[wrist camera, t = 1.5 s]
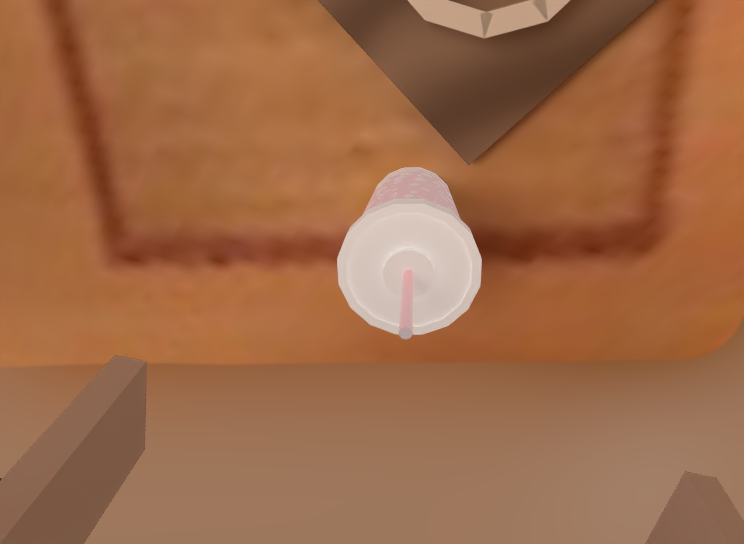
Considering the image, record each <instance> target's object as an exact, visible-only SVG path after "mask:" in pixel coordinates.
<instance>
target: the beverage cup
mask: <svg viewBox="0 0 744 544" xmlns="http://www.w3.org/2000/svg"><path fill="white" fill-rule="evenodd" d="M337 265H338V283H339V286H340V288H341V290H342V292H343V294H344V296H345V298H346V300H347V302H348V304H349V306H350V308H351V309H353V310H354V311H355V312H356V313H357V314H358V315H359V316H361V317H362V318H363V319H364V320H365V321H366V322H368V323H369V324H370V325H372V326H375V327H377V328H380V329H383V330H385V331H388V332H391V333H393V334H399V336H400V337H401V338H403V339H409V338H411V337H412V334H413V335H423V334H426V333H429V332H432V331H435V330H438V329H441V328H444V327H446V326H448V325H450V324H451V323H452V322H453V321H455V320H456V319H457V318H458V317H459V316H461V315H462V314H463V313H464V312H465V311H467V310H468V309H469V307H470V305H471V303H472V301H473V299H474V297H475V295H476V293H477V292H478V290H479V288H480V284H481V266H482V258H481V255H480V253H479V250H478V248H477V245H476V243H475V240H474V238H473V235H472V233H471V230H470V228H469V227H468V226H467V225H466V224H465V223H464V222H463V221H462V220H461V219H460V217H459V214H458V212H457V209H456V206H455V204H454V201H453V199H452V196H451V194H450V191H449V189H448V186H447V184H446V183H445V182H444V181H443V180H442V179H441V178H440V177H439V176H438V175H437V174H436V173H433V172H431V171H428V170H426V169H423V168H421V167H408V168H402V169H399V170H397V171H394V172H392V173H390V174H388V175H387V176H386V177H385V178H384V179H383V180H382V181H381V182H380V183H379V184H378V185H377V187H376V189H375V191H374V193H373V195H372V197H371V199H370V201H369V203H368V205H367V207H366V209H365V211H364V213H363V215H362V216H361V217H360V218H359V219H358V220H357V221H356V222H355V223H354V224H353V225H352V226H351V227H350V228H349V231H348V232H347V235H346V237H345V240H344V242H343V245H342V248H341V250H340V253H339V255H338V258H337Z"/></svg>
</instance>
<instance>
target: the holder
mask: <svg viewBox="0 0 744 544" xmlns="http://www.w3.org/2000/svg"><path fill="white" fill-rule="evenodd" d="M318 1H319V2H320V3H321V4H322V5H323V6H324V7H325V9H326V10H327V11H328V12H329V13H330V14H331V15H332V16H333V17H334V18H335V20H336V21H337V22H338V23H339V24H340V25H341V26H342V27H343V28H344V29H345V30H346V32H347V33H348V34H349V35H350V36H351V37H352V38H353V39H354V40H355V41H356V43H357V44H358V45H359V46H360V47H361V48H362V49H363V50H364V51H365V52H366V53H367V55H368V56H369V57H370V58H371V59H372V60H373V61H374V62H375V63H376V64H377V65H378V67H379V68H380V69H381V70H382V71H383V72H384V73H385V74H386V75H387V76H388V78H389V79H390V80H391V81H392V82H393V83H394V84H395V85H396V86H397V87H398V88H399V90H400V91H401V92H402V93H403V94H404V95H405V96H406V97H407V98H408V99H409V100H410V102H411V103H412V104H413V105H414V106H415V107H416V108H417V109H418V110H419V111H420V113H421V114H422V115H423V116H424V117H425V118H426V119H427V120H428V121H429V122H430V123H431V125H432V126H433V127H434V128H435V129H436V130H437V131H438V132H439V133H440V134H441V136H442V137H443V138H444V139H445V140H446V141H447V142H448V143H449V144H450V145H451V146H452V148H453V149H454V150H455V151H456V152H457V153H458V154H459V155H460V156H461V157H462V158H463V160H464V161H465V162H466V163H467V164H468V165H470V164H471V163H472V162H473V161H474V160H475V159H476V158H478V157H479V156H480V155H481V154H482V153H483V152H484V151H486V150H487V149H488V148H489V147H490V146H491V145H492V144H493V143H495V142H496V141H497V140H498V139H499V138H500V137H501V136H503V135H504V134H505V133H506V132H507V131H508V130H509V129H510V128H512V127H513V126H514V125H515V124H516V123H517V122H518V121H520V120H521V119H522V118H523V117H524V116H525V115H526V114H527V113H529V112H530V111H531V110H532V109H533V108H534V107H535V106H537V105H538V104H539V103H540V102H541V101H542V100H543V99H544V98H546V97H547V96H548V95H549V94H550V93H551V92H552V91H554V90H555V89H556V88H557V87H558V86H559V85H560V84H561V83H563V82H564V81H565V80H566V79H567V78H568V77H569V76H571V75H572V74H573V73H574V72H575V71H576V70H577V69H578V68H580V67H581V66H582V65H583V64H584V63H585V62H586V61H588V60H589V59H590V58H591V57H592V56H593V55H594V54H595V53H597V52H598V51H599V50H600V49H601V48H602V47H603V46H605V45H606V44H607V43H608V42H609V41H610V40H611V39H612V38H614V37H615V36H616V35H617V34H618V33H619V32H620V31H622V30H623V29H624V28H625V27H626V26H627V25H628V24H629V23H631V22H632V21H633V20H634V19H635V18H636V17H637V16H639V15H640V14H641V13H642V12H643V11H644V10H645V9H646V8H648V7H649V6H650V5H651V4H652V3H653V2H654V1H656V0H570V1H569V2H568V3H567V4H566V5H565V6H564V7H563V8H562V9H561V10H560V11H558V12H557V13H556V14H555V15H554V16H553V17H552V18H551V19H550V20H549V21H548V22H544V23H540V24H537V25H533V26H529V27H525V28H522V29H518V30H514V31H510V32H507V33H503V34H499V35H495V36H492V37H488V38H485V39H484V38H481V37H478V36H475V35H471V34H468V33H465V32H462V31H458V30H455V29H452V28H449V27H445V26H442V25H439V24H436V23H432V22H429V21H426V20H424V19H423V18H422V16H421V15H420V14H419V13H418V12H417V11H416V9H415V8H414V7H413V6H412V5H411V4H410V3H409V1H408V0H318ZM449 1H452V2H456V3H459V4H462V5H465V6H469V7H472V8H475V9H478V10H482V11H487V10H491V9H495V8H498V7H502V6H506V5H509V4H513V3H516V2H520V1H524V0H449Z"/></svg>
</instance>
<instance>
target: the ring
mask: <svg viewBox="0 0 744 544" xmlns="http://www.w3.org/2000/svg"><path fill="white" fill-rule="evenodd" d="M408 1H409V3H410V4H411V5H412V6H413V7H414V8H415V9H416V11H417V12H418V13H419V14H420V15H421V16H422V18H423V19H424V20H426V21H429V22H432V23H436V24H439V25H442V26H445V27H449V28H452V29H455V30H458V31H462V32H465V33H468V34H471V35H475V36H478V37H481V38H484V39H485V38H488V37H492V36H495V35H499V34H503V33H507V32H510V31H514V30H518V29H522V28H525V27H529V26H533V25H537V24H540V23H544V22H548V21H549V20H550V19H551V18H552V17H553V16H554V15H555V14H556V13H557V12H558V11H560V10H561V9H562V8H563V7H564V6H565V5H566V4H567V3H568V2H569V1H570V0H524V1H520V2H516V3H513V4H509V5H506V6H502V7H498V8H495V9H491V10H487V11H482V10H478V9H475V8H472V7H469V6H465V5H462V4H459V3H456V2H452V1H449V0H408Z"/></svg>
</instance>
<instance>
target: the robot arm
mask: <svg viewBox="0 0 744 544" xmlns="http://www.w3.org/2000/svg"><path fill="white" fill-rule="evenodd" d="M146 367H147V361H143V360H138V359H133V358H128V357H123V356H118V355H115V356H114V357H113V358H112V359H111V360H110V361H109V362H108V363H107V364H106V366H105V367H104V368H103V369H102V370H101V371H100V372H99V373H98V374H97V375H96V377H95V378H94V379H93V380H92V381H91V382H90V383H89V384H88V385H87V386H86V387H85V389H84V390H83V391H82V392H81V393H80V394H79V395H78V396H77V397H76V398H75V399H74V401H73V402H72V403H71V404H70V405H69V406H68V407H67V408H66V409H65V410H64V412H63V413H62V414H61V415H60V416H59V417H58V418H57V419H56V420H55V421H54V422H53V424H52V425H51V426H50V427H49V428H48V429H47V430H46V431H45V432H44V433H43V435H42V436H41V437H40V438H39V439H38V440H37V441H36V442H35V443H34V444H33V446H32V447H31V448H30V449H29V450H28V451H27V452H26V453H25V454H24V455H23V456H22V458H21V459H20V460H19V461H18V462H17V463H16V464H15V465H14V466H13V467H12V468H11V470H10V471H9V472H8V473H7V474H6V475H5V476H4V477H3V478H2V479H1V478H0V544H84V543H85V541H86V539H87V538H88V536H89V535H90V533H91V532H92V530H93V529H94V527H95V526H96V524H97V522H98V521H99V519H100V518H101V516H102V514H103V513H104V511H105V510H106V508H107V507H108V505H109V504H110V502H111V501H112V499H113V498H114V496H115V494H116V493H117V491H118V490H119V488H120V487H121V485H122V484H123V482H124V481H125V479H126V478H127V476H128V474H129V473H130V471H131V470H132V468H133V467H134V465H135V464H136V462H137V460H138V459H139V457H140V456H141V454H142V453H143V451H144V450H145V417H146V416H145V415H146ZM646 544H744V520H743V519H742V517H741V516H740V514H739V513H738V511H737V509H736V508H735V506H734V505H733V503H732V501H731V500H730V498H729V497H728V495H727V493H726V492H725V490H724V489H723V487H722V486H721V484H720V482H719V481H718V479H717V478H714V477H709V476H705V475H700V474H695V473H691V472H686V471H685V473H684V475H683V476H682V478H681V480H680V482H679V484H678V485H677V487H676V489H675V491H674V493H673V495H672V496H671V498H670V500H669V502H668V504H667V505H666V507H665V509H664V511H663V513H662V514H661V516H660V518H659V520H658V522H657V524H656V525H655V527H654V529H653V531H652V533H651V534H650V536H649V538H648V540H647V542H646Z"/></svg>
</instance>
